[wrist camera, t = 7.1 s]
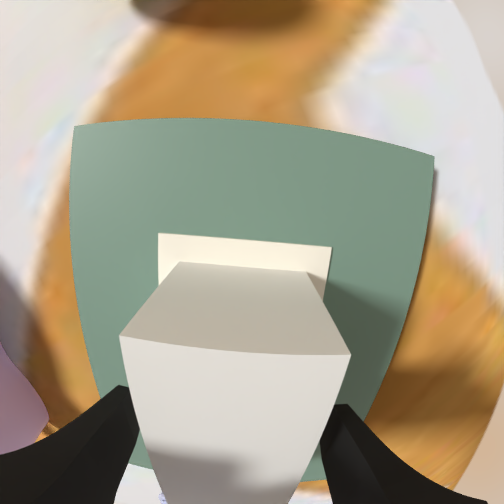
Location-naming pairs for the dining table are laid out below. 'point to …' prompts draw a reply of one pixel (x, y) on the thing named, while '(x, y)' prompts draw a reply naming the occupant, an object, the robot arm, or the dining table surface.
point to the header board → (247, 229)
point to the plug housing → (232, 381)
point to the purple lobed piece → (18, 408)
